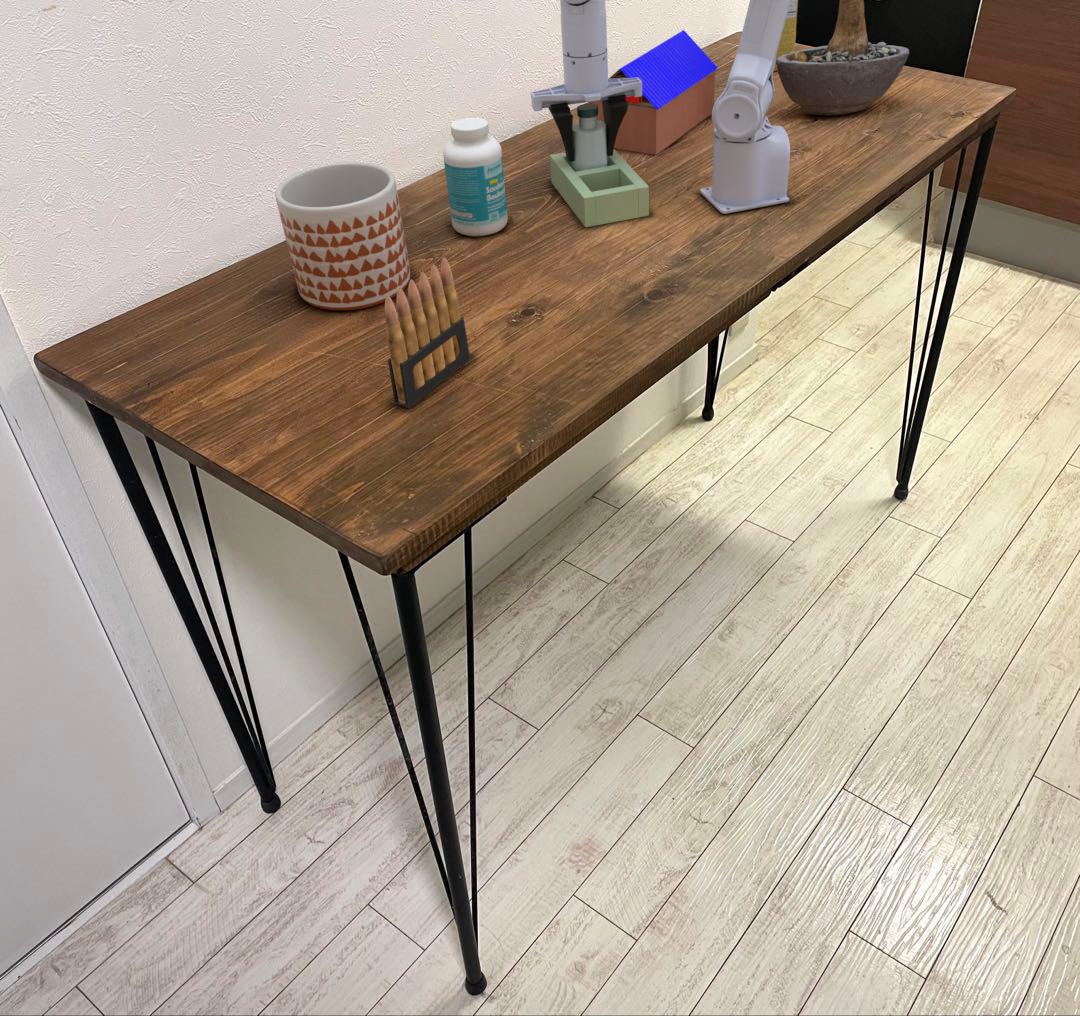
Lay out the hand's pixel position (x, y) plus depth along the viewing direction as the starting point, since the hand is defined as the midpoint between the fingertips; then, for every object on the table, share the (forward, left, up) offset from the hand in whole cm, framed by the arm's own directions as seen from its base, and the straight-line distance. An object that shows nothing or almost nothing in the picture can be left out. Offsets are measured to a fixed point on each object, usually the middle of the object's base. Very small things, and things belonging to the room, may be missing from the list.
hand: (589, 156), depth 139 cm
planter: (-44, -12, -5) cm, 46 cm away
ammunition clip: (+30, +41, -5) cm, 51 cm away
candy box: (-46, -38, -5) cm, 60 cm away
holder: (0, +4, -5) cm, 6 cm away
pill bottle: (+17, +6, -5) cm, 19 cm away
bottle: (0, 0, -3) cm, 3 cm away
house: (-16, -18, -5) cm, 25 cm away
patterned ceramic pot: (+35, +16, -5) cm, 39 cm away
